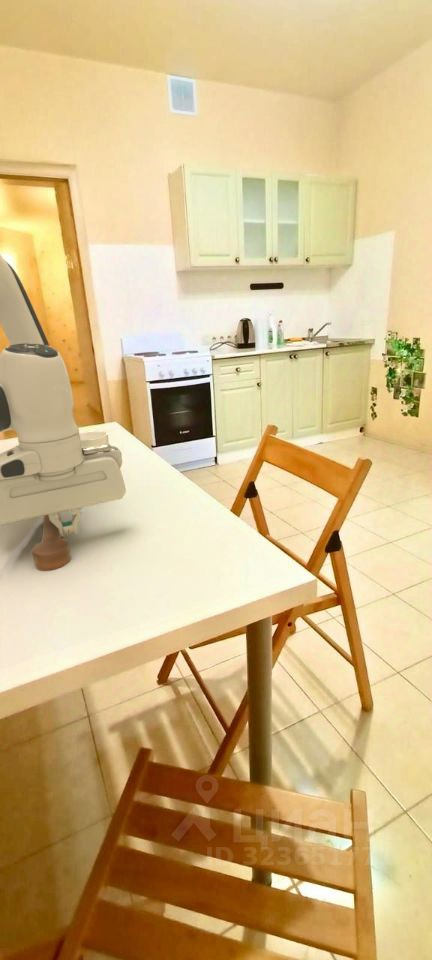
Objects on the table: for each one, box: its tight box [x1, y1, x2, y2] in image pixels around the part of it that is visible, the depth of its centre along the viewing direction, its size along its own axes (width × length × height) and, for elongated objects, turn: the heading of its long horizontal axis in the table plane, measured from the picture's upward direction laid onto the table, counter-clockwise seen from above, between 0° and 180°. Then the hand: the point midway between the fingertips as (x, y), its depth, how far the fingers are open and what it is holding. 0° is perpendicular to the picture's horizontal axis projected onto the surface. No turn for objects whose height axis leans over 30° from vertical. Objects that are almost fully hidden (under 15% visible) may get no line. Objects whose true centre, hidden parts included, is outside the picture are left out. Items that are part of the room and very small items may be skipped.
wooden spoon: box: [31, 512, 72, 571], centre depth 74 cm, size 19×5×3 cm, turn 18°
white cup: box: [79, 430, 110, 457], centre depth 103 cm, size 8×8×10 cm
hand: (68, 533), depth 74 cm, fingers closed
